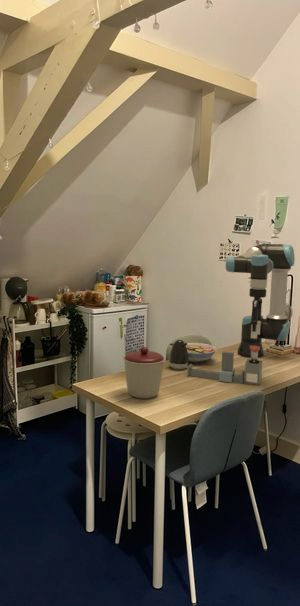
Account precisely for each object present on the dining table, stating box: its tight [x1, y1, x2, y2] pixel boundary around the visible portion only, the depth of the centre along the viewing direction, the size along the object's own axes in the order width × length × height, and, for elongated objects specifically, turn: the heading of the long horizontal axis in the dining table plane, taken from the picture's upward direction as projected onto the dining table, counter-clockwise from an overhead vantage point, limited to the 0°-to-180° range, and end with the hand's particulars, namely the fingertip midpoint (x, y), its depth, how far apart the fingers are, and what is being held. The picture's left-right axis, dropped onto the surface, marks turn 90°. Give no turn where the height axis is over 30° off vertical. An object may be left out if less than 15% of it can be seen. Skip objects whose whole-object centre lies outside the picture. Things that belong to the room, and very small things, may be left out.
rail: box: [186, 363, 245, 385], centre depth 217 cm, size 5×27×5 cm, turn 69°
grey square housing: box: [243, 358, 263, 386], centre depth 213 cm, size 7×7×10 cm
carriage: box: [218, 350, 236, 384], centre depth 214 cm, size 7×6×14 cm
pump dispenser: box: [168, 339, 190, 370], centre depth 232 cm, size 10×10×15 cm
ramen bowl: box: [169, 342, 218, 363], centre depth 248 cm, size 25×23×8 cm
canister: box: [122, 346, 166, 400], centre depth 192 cm, size 18×18×21 cm
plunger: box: [250, 345, 260, 363], centre depth 211 cm, size 5×5×7 cm
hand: (255, 336), depth 210 cm, fingers open, 9 cm apart
